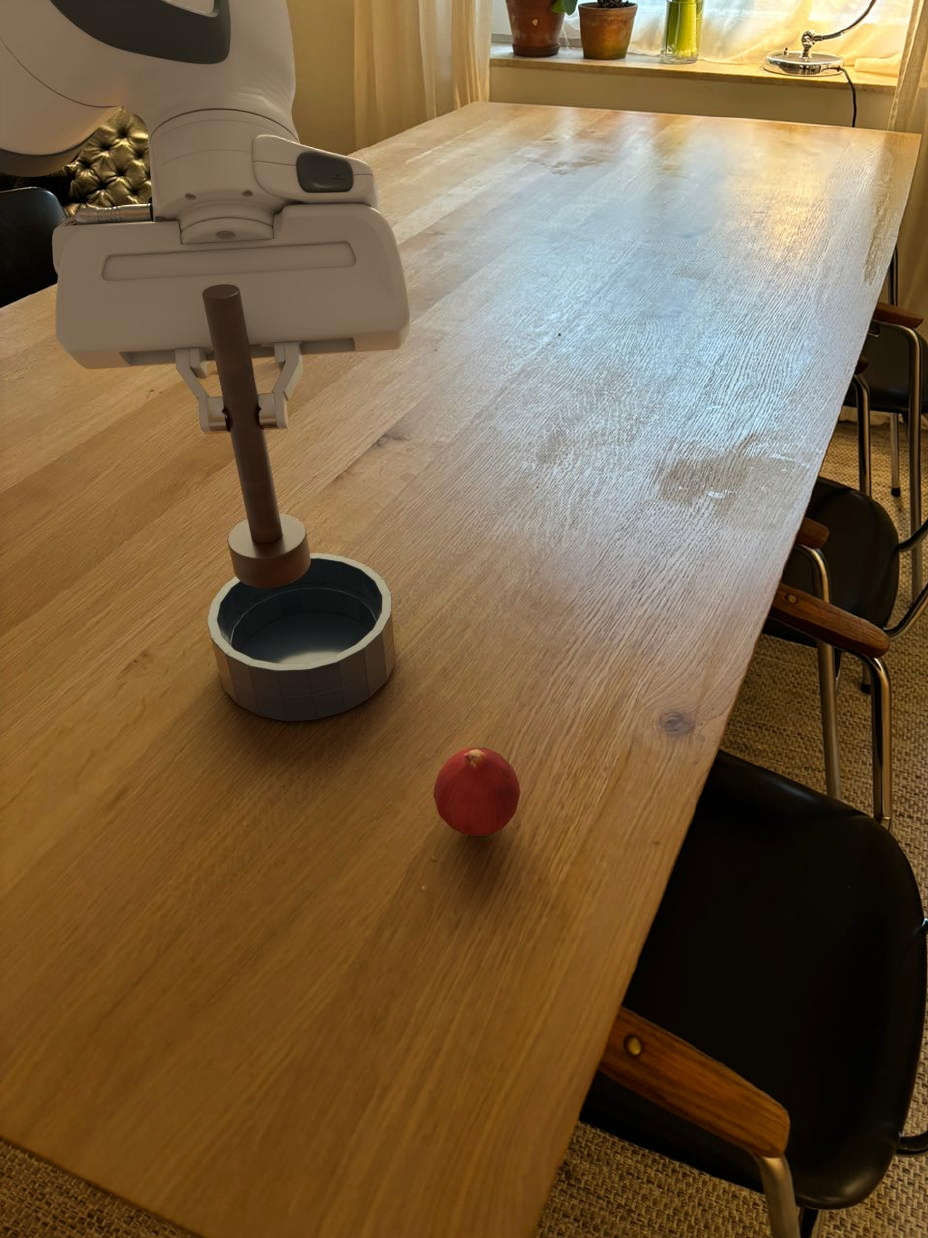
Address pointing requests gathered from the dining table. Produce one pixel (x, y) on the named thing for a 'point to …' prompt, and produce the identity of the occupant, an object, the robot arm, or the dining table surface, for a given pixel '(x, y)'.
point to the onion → (477, 792)
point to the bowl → (305, 640)
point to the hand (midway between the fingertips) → (245, 429)
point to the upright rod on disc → (251, 455)
